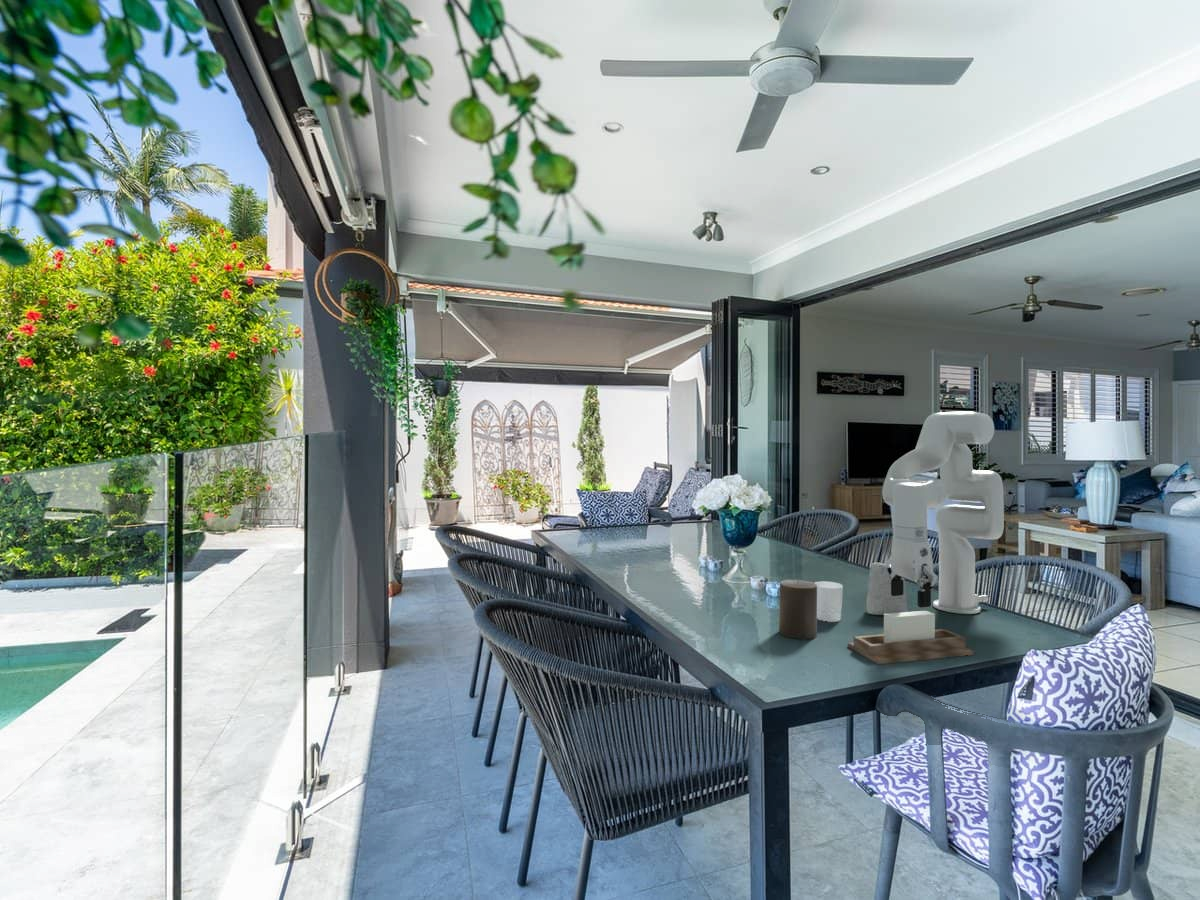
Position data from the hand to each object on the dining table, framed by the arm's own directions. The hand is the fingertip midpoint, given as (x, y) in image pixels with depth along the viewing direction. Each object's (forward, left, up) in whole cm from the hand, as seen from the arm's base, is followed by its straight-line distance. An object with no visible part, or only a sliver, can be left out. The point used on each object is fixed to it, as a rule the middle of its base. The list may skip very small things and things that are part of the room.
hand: (910, 600), depth 154 cm
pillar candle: (+21, -18, -13) cm, 30 cm away
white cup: (+6, -28, -13) cm, 31 cm away
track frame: (+1, 0, -12) cm, 12 cm away
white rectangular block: (+1, 0, -11) cm, 11 cm away
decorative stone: (-13, -28, -13) cm, 33 cm away
